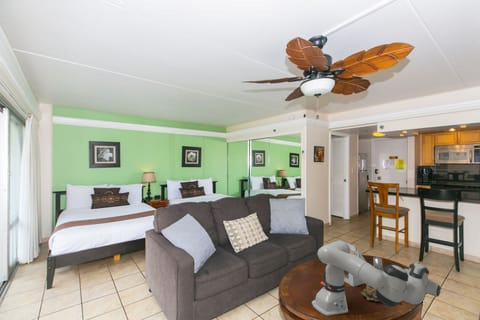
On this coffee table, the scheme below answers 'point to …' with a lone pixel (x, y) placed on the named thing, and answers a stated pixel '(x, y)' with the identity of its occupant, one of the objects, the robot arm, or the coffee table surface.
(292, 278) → the coffee table surface
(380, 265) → the brushed metal cylinder
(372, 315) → the coffee table surface
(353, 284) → the gable box
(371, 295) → the mineral formation
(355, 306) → the coffee table surface
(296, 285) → the coffee table surface
